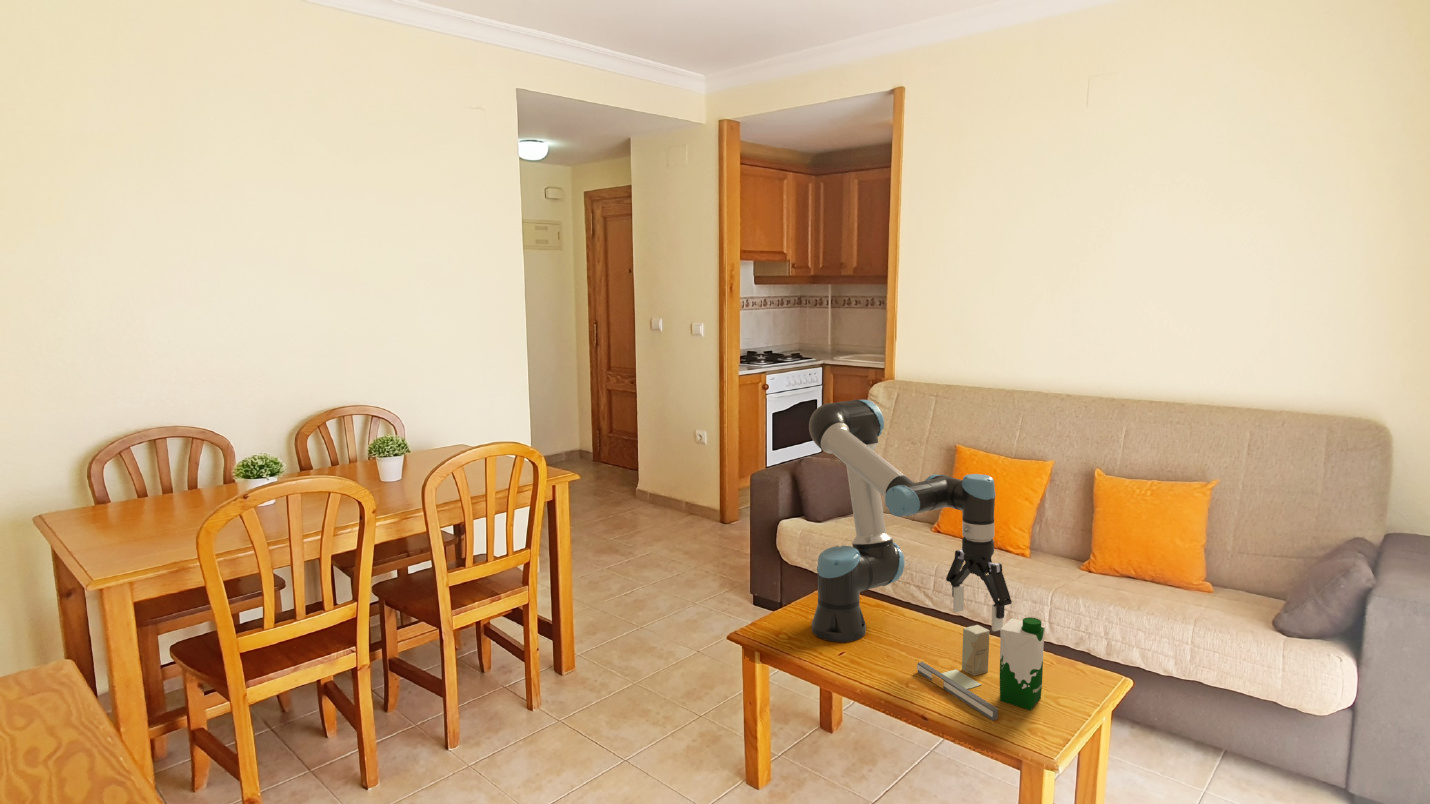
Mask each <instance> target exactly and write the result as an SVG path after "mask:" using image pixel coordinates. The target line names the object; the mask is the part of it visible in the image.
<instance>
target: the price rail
mask: <svg viewBox="0 0 1430 804" xmlns="http://www.w3.org/2000/svg"><path fill="white" fill-rule="evenodd" d="M916 670H917V673H918V674H919V675H921V676H923V677H924V678H925V679H927V680H929V681H931V682H932V683H933V684H934V685H937V686H938V687H940V689H943V690H945V691H946V692H947V693H949V694H950V695H952V696H954V697H955V698H956V699H958V700H960V701H962V702H963V703H965V704H966V705H967V706H969V707H971V708H972V709H974V710H975V711H977V712H979V713H980V714H982V715H983V716H985V717H986V718H987V719H989V720H991V721H996V720H998V719H999V718H998V717H999V716H998V715H999V708H998V707H996V706H995V705H994V704H991V703H990V702H989V701H987V700H985V699H984V698H982V697H980V696H979V695H977V694H975V693H974V692H972V691H970V690H969V689H966V688H964V687H963V686H961V685H959V684H958V683H956V682H955V681H953V680H951V679H950V678H948V677H946V676H945V675H943V674H942V673H943V672H940V671H939V670H937V669H935V668H934V667H932V666H931V665H928V664H927V663H926V662H924V661H920V662H917V665H916Z"/></svg>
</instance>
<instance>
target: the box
mask: <svg viewBox="0 0 1430 804" xmlns="http://www.w3.org/2000/svg"><path fill="white" fill-rule="evenodd" d="M961 652H962V655H961V657H962V659H961V670H962V671H964V672H965V673H967V674H968V675H969V674H970V675H971V676H978V675H982V674H986V673H988V672H989V656H990V655H989V653H990V630H989V629H988V628H985V627H983V626H981V625H979V624H976V625H970V626H967V627H965V628H963V629H962V651H961Z"/></svg>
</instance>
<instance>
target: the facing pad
mask: <svg viewBox="0 0 1430 804" xmlns="http://www.w3.org/2000/svg"><path fill="white" fill-rule="evenodd" d="M941 673H942V674H943V675H945V676H946V677H948V678H950V679H951V680H953V681H955V682H956V683H958V684H959V685H961V686H963V687H964V688H966V689H967V690H969V689H973V688H977V687H980V686H982V684H981V683H980V682H978V681H976V680H974V679H973V678H972V677H969V676H968V675H966V674H964V672H961V671H960V670H958V669H953V670H952V669H951V670H948V671H945V672H941Z"/></svg>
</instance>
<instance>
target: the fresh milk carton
mask: <svg viewBox="0 0 1430 804" xmlns="http://www.w3.org/2000/svg"><path fill="white" fill-rule="evenodd" d="M1045 633H1046V625H1042V620H1041V619H1038V618H1036V617H1031V616H1030V617H1023V619H1022V620H1020V619H1016V618H1010V619H1009V620H1007V622H1006V623H1005V624H1003V627H1002V628H1001V629H1000V630H999V634H1000V635H999V636H1000V637H999V638H1000V644H999V645H1000V647H999V648H1000V649H999V650H1000V651H999V701H1000V702H1002V703H1005V704H1007V705H1008V704H1009V705H1011V706H1014V707H1018V708H1021V709H1025V710H1028V711H1032V709H1033V708H1034V707H1035V706H1036V705H1037V704H1038V703H1039V701H1040V700H1041V699H1042V690H1043V671H1044V668H1043V667H1044V645H1045Z"/></svg>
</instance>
